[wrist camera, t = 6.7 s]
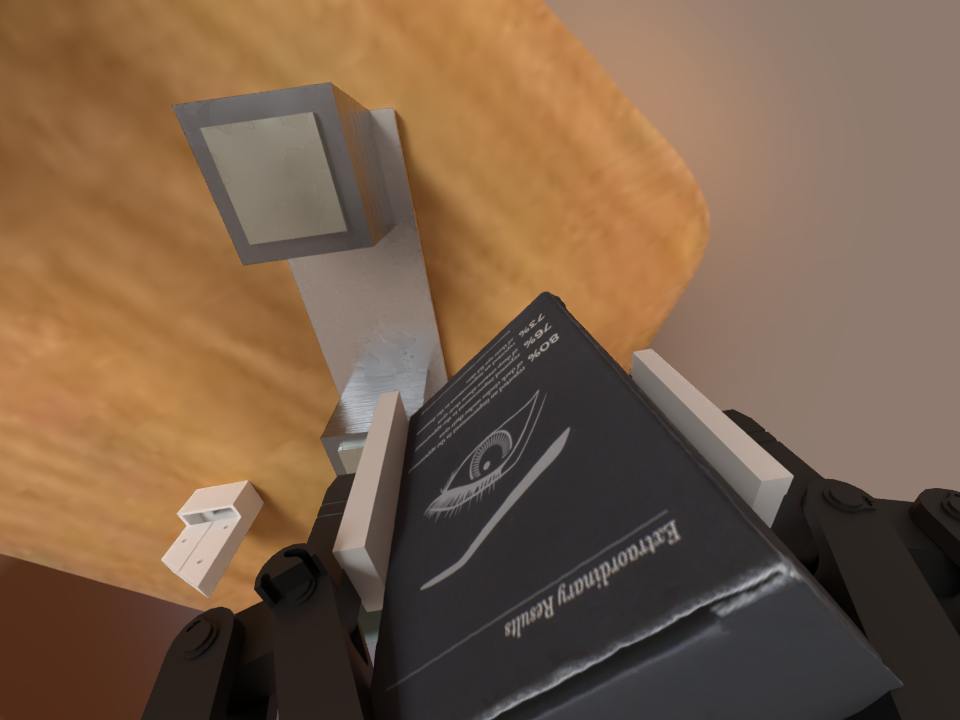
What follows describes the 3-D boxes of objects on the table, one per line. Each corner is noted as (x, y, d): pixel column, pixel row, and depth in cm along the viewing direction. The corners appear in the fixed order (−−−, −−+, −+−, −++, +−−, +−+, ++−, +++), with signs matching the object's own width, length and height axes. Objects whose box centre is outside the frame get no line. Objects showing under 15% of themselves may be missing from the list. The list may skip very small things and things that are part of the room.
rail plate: (245, 131, 23) (130, 108, 15) (394, 109, 23) (362, 75, 15) (358, 434, 36) (330, 513, 27) (456, 420, 36) (457, 495, 27)
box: (496, 473, 17) (552, 844, 8) (405, 412, 15) (333, 822, 6) (630, 370, 15) (943, 717, 5) (547, 279, 13) (828, 598, 3)
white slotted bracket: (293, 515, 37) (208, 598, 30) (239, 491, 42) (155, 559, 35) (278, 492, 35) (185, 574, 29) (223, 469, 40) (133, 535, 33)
